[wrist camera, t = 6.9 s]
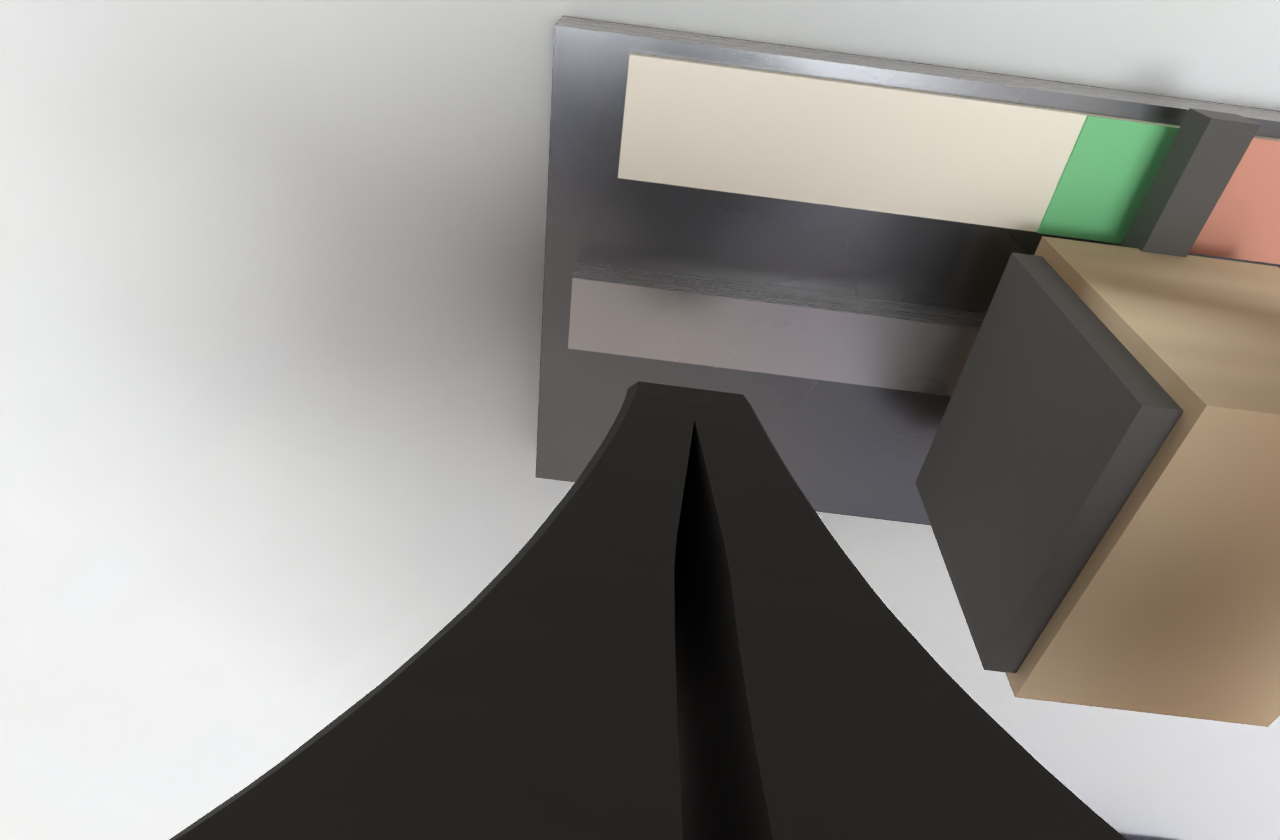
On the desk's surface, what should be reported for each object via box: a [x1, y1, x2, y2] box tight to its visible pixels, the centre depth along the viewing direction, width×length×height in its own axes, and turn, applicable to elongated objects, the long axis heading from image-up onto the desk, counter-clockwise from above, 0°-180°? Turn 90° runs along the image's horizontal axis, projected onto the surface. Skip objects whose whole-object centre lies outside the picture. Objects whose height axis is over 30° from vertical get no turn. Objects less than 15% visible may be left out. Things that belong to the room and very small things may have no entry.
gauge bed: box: [536, 16, 1280, 525], centre depth 11 cm, size 15×8×6 cm, turn 84°
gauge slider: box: [915, 108, 1280, 727], centre depth 10 cm, size 4×6×4 cm, turn 174°
